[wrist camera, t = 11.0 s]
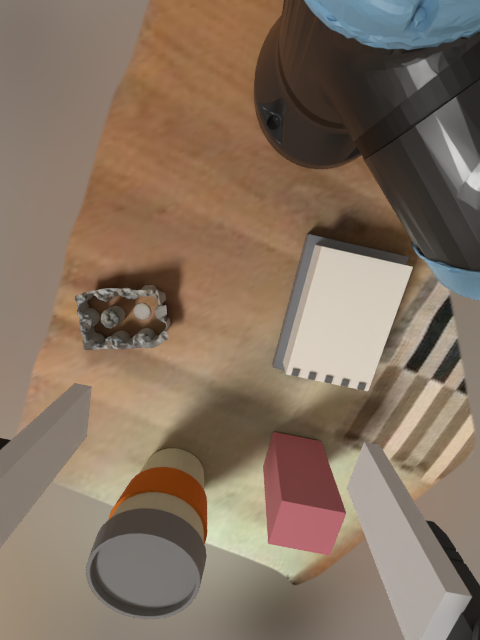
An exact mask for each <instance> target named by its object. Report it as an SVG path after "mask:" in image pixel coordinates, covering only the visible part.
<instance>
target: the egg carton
mask: <svg viewBox="0 0 480 640" xmlns="http://www.w3.org/2000/svg"><path fill="white" fill-rule="evenodd" d="M94 295H95V296H96V297H97V298H98V299H100V300H102V301H105V302H108V301H109V300H111V299H113V298H115V297H116V296H118V295H120V296H121V297H126V298H128V299H133V300H134V299H136V298H138V297H139V296H151V297H155V298H156V299H157V301H158V303H159V305H158V306H157V307H156V309H155V315H156V317H157V318H158V320H160V321H162V322H164V323H166V328H165V329H164V331H163V332H161V333H160V335H159V336H157V335H156V334H155V332H154V331H153V330H152V329H149V328H144V329H142V330H140V331H139V332H138V333H137V334H136V335H135V336H134V337H133V338H130V336H129V334H128V333H127V332H125V331H117V332H115V333H114V334H113V335H112V336H110V337H108V338H106V340H105V338H104V336H103V335H101V334H99V333H96V332H95V329H94V326H95V325H96V324H97V323H98V322H99V321H100V314H99V313H98V312H97V311H96V310H95V309H92V308H89V306H88V300H90V299H92V298H93V296H94ZM75 300H76V301H77V304H78V310H77V314H78V316H79V324H80V329H81V334H82V335H83V344H84V349H85V350H96V349H112V348H115V349H125V348H152V347H156V346H158V345H160V344H161V343H163V342H164V341H166V340H167V339H168V334H167V332H166V330H167V329H168V328H169V326H170V318H167V317H165V316H167V309H166V305H165V306H163V304H162V303H163V302H164V301H166V294H165V293H164V292H161V291H159V290H157V289H156V287H155V286H154V285H144V287H142V289H141V290H131V289H130V288H128V287H127V288H121V289H118V288H106V289H100V290H95V291H91V292H84V293H82V294H80V295H76V296H75ZM133 313H134V315H135V316H136V318H138V319H141V320H146V319H148V318H149V317H150V315H151V309H150V308H149V306H148V305H146V304H145V303H138V304H137V305H136V306H135V307H134V310H133ZM124 319H125V311H124V309H123V308H121V307H119V306H112V307H110V308H108V309H106V310H104V311H103V313H102V314H101V323H102V324H103V325H104V326H105V327H107V328H113V327H115V326H117V325H118V324H120V323H121V322H122V321H123V320H124Z"/></svg>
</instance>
